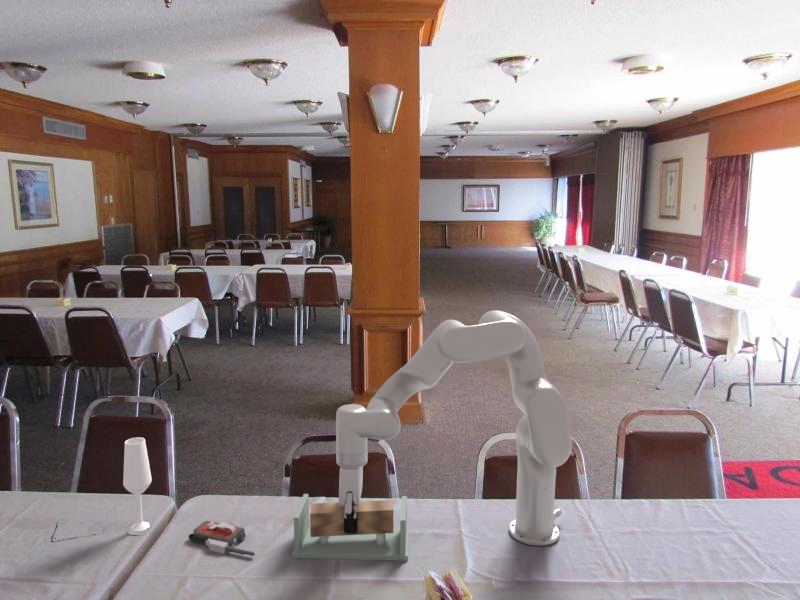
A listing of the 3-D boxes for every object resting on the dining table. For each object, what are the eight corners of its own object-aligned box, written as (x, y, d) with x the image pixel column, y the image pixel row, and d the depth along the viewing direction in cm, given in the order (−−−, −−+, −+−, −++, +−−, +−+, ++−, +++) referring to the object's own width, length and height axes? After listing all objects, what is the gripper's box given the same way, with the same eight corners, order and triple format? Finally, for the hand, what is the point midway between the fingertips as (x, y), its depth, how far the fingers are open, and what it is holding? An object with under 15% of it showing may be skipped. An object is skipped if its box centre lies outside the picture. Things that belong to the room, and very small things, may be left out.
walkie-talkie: (182, 546, 148) (252, 562, 141) (181, 529, 147) (251, 545, 140) (205, 528, 156) (271, 543, 149) (204, 512, 155) (271, 526, 148)
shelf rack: (409, 533, 153) (409, 496, 151) (407, 560, 141) (408, 520, 140) (302, 530, 154) (301, 493, 153) (292, 557, 142) (291, 517, 141)
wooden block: (310, 537, 143) (310, 513, 143) (311, 526, 148) (311, 503, 147) (393, 533, 145) (393, 510, 144) (391, 522, 150) (391, 500, 149)
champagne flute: (120, 532, 153) (114, 443, 149) (140, 520, 159) (135, 434, 155) (140, 538, 150) (134, 447, 147) (160, 525, 156) (155, 438, 153)
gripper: (341, 442, 153) (341, 508, 155) (331, 471, 136) (331, 544, 138) (370, 442, 152) (370, 509, 155) (364, 471, 135) (364, 545, 138)
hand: (352, 525), depth 147 cm, fingers closed on wooden block, 5 cm apart
